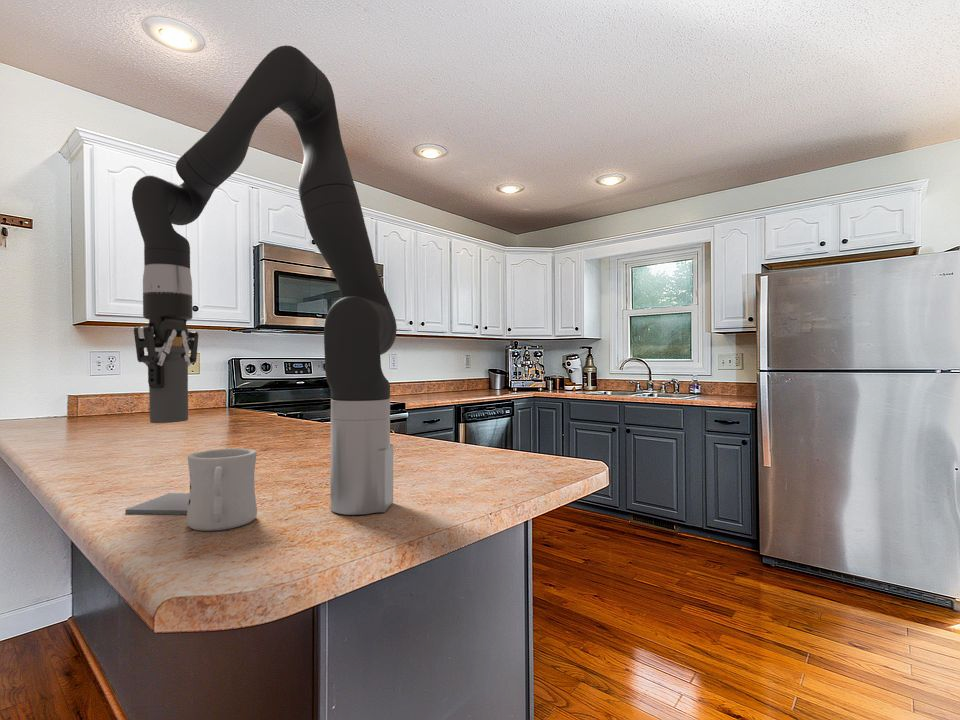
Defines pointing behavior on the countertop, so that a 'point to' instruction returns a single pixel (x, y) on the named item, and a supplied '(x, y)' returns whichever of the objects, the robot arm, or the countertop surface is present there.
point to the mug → (221, 489)
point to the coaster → (163, 505)
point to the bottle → (171, 388)
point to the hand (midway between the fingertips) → (169, 387)
